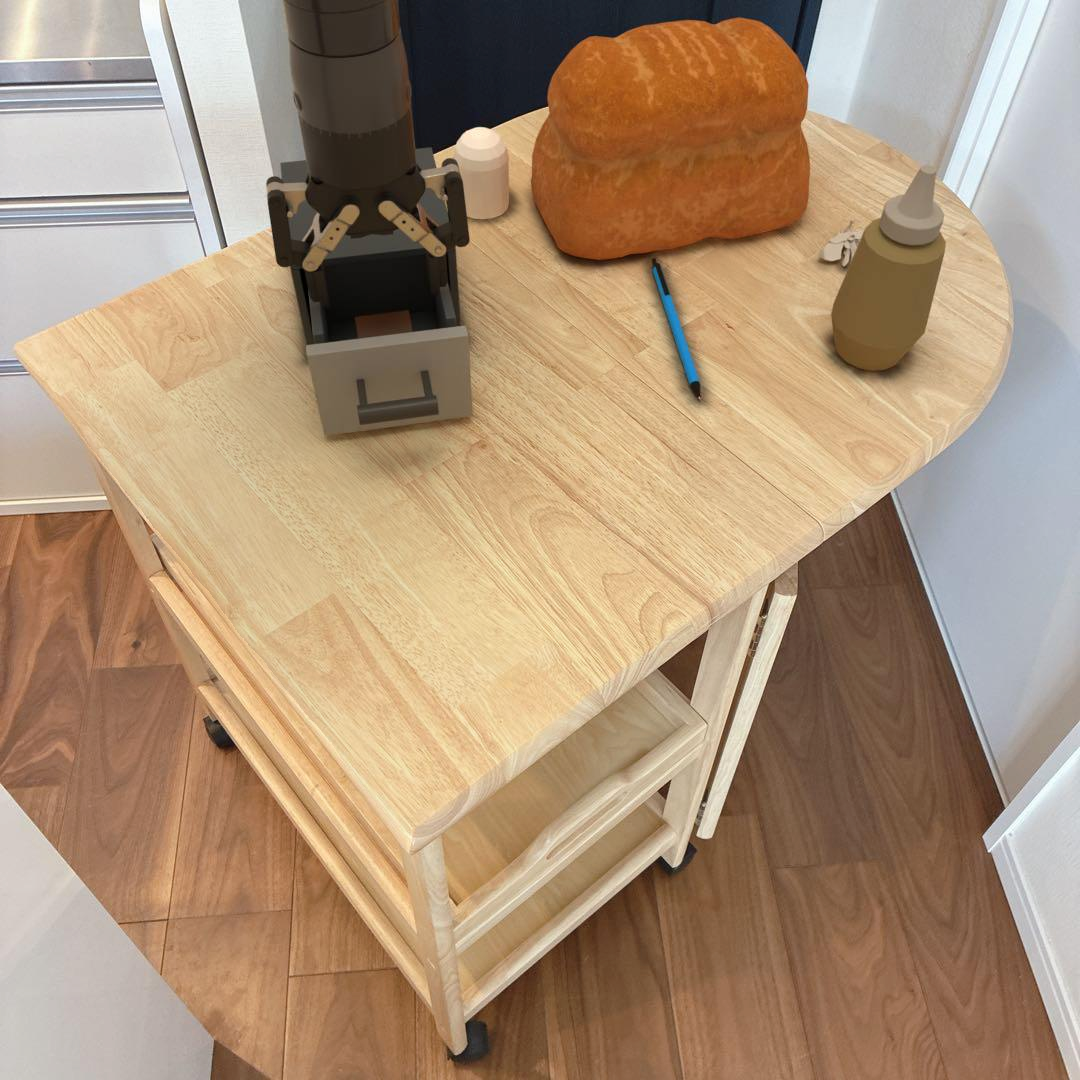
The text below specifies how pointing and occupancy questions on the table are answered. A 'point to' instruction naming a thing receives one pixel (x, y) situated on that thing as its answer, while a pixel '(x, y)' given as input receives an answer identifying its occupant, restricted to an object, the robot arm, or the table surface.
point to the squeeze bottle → (891, 279)
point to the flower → (836, 245)
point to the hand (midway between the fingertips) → (379, 295)
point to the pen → (676, 328)
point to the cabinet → (365, 239)
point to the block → (383, 324)
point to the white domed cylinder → (483, 172)
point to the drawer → (387, 350)
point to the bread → (672, 139)
